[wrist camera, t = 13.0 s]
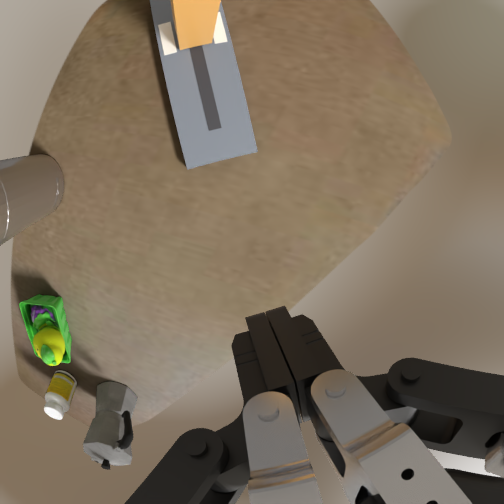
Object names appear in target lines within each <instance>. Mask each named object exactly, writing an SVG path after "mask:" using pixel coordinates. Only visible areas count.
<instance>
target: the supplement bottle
mask: <svg viewBox="0 0 504 504" xmlns="http://www.w3.org/2000/svg"><path fill="white" fill-rule="evenodd" d="M76 386H77V382H76V380H75V378H74V377H73V376H72V375H71V374H69V373H68V372H66V371H62V370H58V371H56V372H55V373H54V375H53V378H52V380H51V382H50V385H49V387H48V389H47V392H46V395H45V400H46V404H45V407H44V411H45V412H46V413H47V414H48V415H49V416H50V417H52V418H54V419H58V420H60V419H62V418H63V415H64V412H67V411H68V410H69V407H70V404H71V401H72V398H73V395H74V392H75V389H76Z"/></svg>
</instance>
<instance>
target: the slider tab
mask: <svg viewBox="0 0 504 504" xmlns="http://www.w3.org/2000/svg"><path fill="white" fill-rule="evenodd" d="M170 1H171V8H172V14H173V20H174V25H175V30H176V34H177V39H178V44H179V48H180V50H183V49H187V48H191V47H196V46H200V45H205V44H210V43H212V40H213V35H214V30H215V25H216V20H217V15H218V11H219V6H220V2H221V0H170Z"/></svg>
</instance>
